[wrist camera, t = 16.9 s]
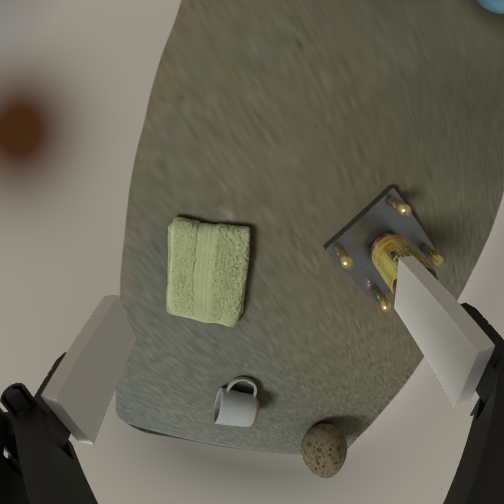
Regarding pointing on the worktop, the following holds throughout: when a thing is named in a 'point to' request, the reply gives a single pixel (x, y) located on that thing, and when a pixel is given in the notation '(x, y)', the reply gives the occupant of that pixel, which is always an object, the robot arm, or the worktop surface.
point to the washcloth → (207, 270)
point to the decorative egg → (324, 449)
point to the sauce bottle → (393, 257)
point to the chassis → (364, 235)
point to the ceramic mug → (236, 405)
